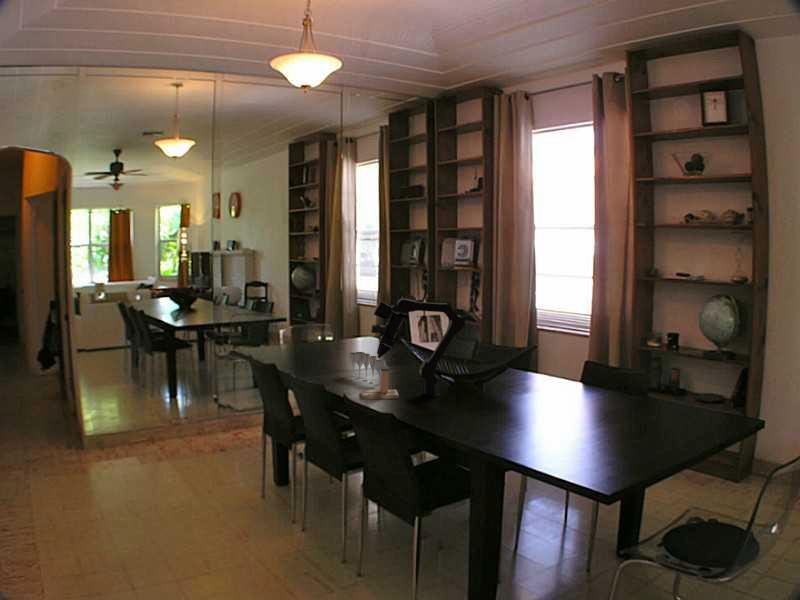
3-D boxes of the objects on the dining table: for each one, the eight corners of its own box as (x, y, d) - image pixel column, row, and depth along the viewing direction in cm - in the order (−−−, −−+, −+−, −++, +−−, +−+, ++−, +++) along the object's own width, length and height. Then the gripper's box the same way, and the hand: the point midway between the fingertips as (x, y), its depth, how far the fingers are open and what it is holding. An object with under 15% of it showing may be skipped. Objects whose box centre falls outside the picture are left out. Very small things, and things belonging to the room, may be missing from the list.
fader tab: (387, 390, 273) (387, 366, 272) (388, 393, 267) (389, 368, 266) (379, 390, 273) (379, 366, 272) (380, 393, 267) (381, 368, 266)
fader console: (396, 392, 276) (396, 389, 276) (398, 398, 266) (398, 394, 266) (360, 393, 274) (360, 389, 274) (362, 398, 264) (362, 395, 264)
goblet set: (345, 376, 308) (346, 350, 307) (355, 374, 312) (355, 349, 310) (378, 387, 286) (378, 359, 285) (388, 385, 290) (388, 358, 288)
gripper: (377, 314, 277) (361, 344, 278) (378, 319, 258) (362, 351, 259) (398, 324, 278) (383, 355, 279) (401, 330, 260) (385, 363, 260)
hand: (378, 355), depth 269 cm, fingers open, 9 cm apart
